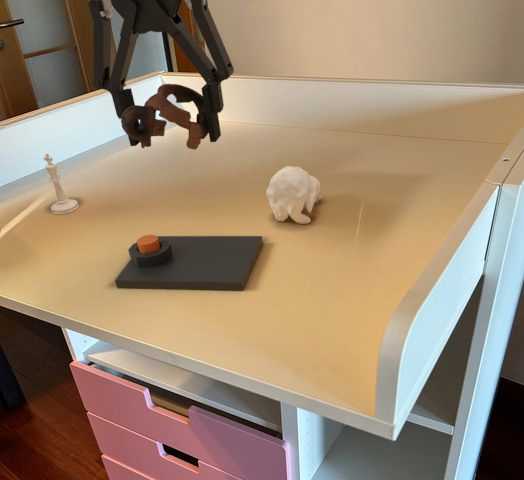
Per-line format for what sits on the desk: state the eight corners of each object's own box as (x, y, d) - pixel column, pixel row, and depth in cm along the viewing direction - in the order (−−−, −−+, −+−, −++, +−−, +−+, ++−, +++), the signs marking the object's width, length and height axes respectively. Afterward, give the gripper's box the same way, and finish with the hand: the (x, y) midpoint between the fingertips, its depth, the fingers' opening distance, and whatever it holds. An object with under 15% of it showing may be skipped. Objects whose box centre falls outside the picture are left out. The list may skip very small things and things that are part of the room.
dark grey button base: (117, 288, 78) (111, 270, 76) (150, 244, 88) (146, 226, 86) (242, 291, 74) (239, 271, 72) (263, 244, 84) (260, 225, 82)
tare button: (136, 254, 80) (133, 244, 79) (143, 244, 82) (141, 234, 81) (155, 254, 79) (153, 244, 78) (163, 244, 81) (160, 234, 80)
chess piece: (65, 216, 100) (46, 160, 94) (45, 212, 102) (25, 158, 96) (84, 204, 103) (67, 150, 97) (65, 201, 106) (47, 148, 99)
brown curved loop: (175, 131, 82) (193, 78, 76) (211, 173, 79) (232, 121, 73) (101, 133, 74) (114, 73, 68) (137, 179, 71) (155, 121, 65)
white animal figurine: (261, 171, 83) (295, 151, 91) (265, 226, 87) (296, 202, 96) (301, 174, 80) (331, 153, 89) (302, 231, 85) (331, 205, 94)
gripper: (243, -81, 62) (265, 127, 75) (56, -55, 67) (108, 135, 80) (227, -78, 56) (253, 146, 69) (23, -50, 61) (85, 154, 74)
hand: (175, 140), depth 75 cm, fingers closed on brown curved loop, 10 cm apart
